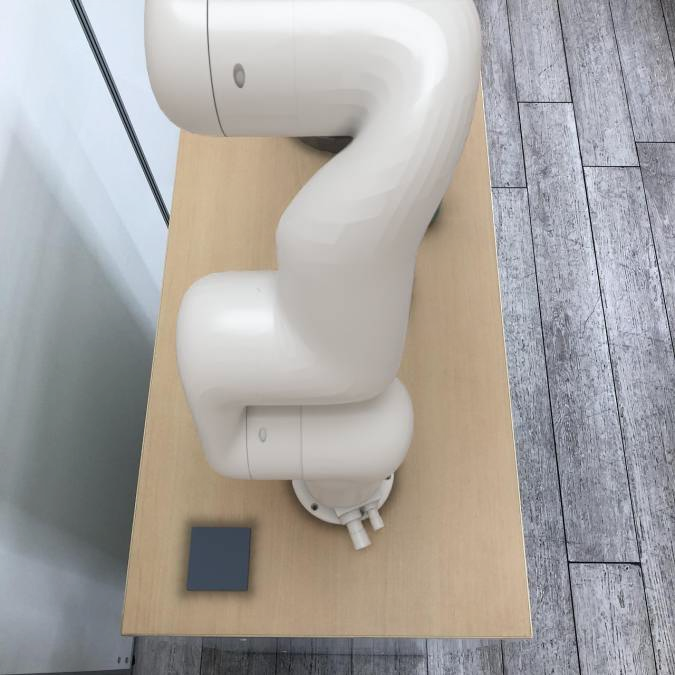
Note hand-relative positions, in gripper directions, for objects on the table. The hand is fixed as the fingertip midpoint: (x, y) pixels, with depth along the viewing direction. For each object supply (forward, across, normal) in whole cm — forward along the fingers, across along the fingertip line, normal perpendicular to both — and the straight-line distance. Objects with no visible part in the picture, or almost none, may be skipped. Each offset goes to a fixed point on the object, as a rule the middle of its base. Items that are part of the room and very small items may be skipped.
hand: (340, 27), depth 83 cm
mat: (+17, -14, -65) cm, 69 cm away
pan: (+16, 0, +1) cm, 16 cm away
